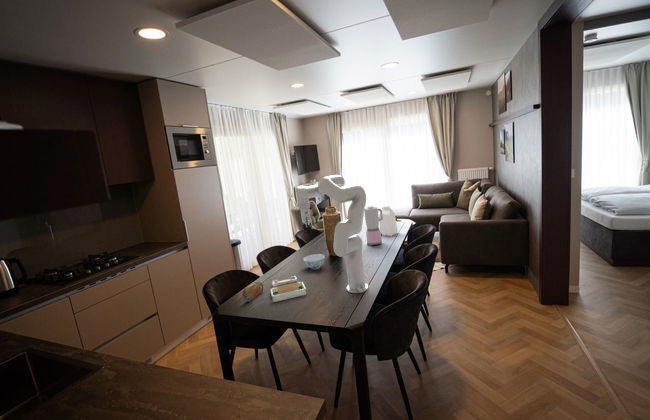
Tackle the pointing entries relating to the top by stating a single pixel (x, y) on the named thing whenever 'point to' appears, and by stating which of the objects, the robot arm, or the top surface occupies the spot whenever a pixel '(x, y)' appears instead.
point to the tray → (288, 293)
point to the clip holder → (282, 281)
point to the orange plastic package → (252, 291)
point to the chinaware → (314, 261)
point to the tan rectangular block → (287, 286)
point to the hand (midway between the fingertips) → (307, 231)
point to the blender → (373, 225)
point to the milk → (388, 222)
